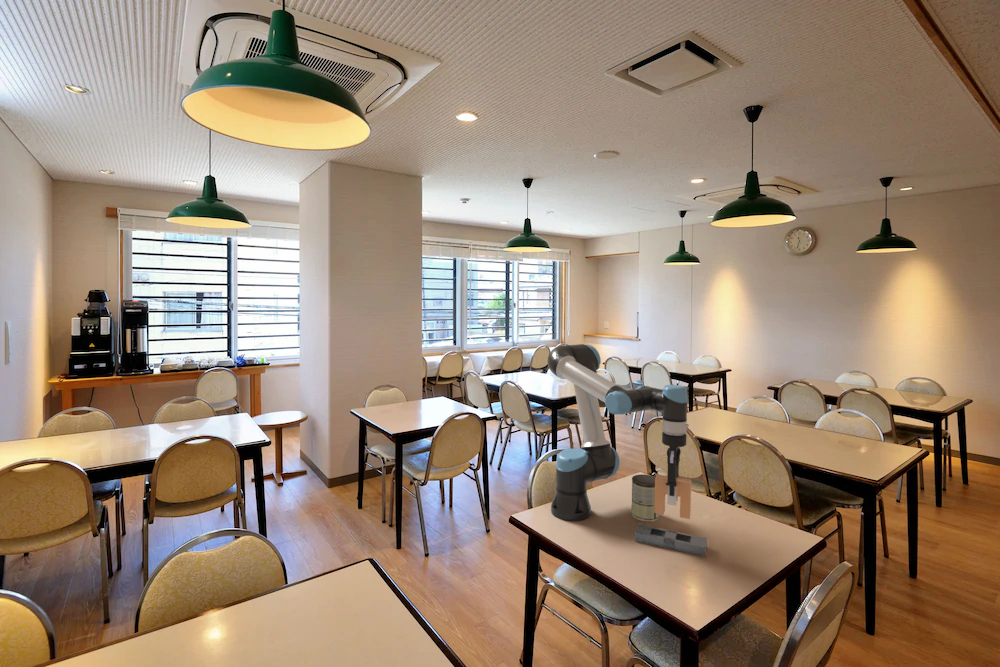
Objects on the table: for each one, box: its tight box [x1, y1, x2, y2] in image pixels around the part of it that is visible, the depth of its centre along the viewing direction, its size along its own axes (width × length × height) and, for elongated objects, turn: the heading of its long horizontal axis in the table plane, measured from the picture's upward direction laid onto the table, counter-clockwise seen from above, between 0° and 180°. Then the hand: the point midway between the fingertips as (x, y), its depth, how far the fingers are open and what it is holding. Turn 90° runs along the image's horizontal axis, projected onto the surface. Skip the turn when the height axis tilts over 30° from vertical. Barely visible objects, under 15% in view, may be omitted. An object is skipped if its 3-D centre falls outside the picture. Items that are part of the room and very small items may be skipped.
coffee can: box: [630, 474, 660, 523], centre depth 180 cm, size 10×10×14 cm
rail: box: [634, 523, 708, 558], centre depth 159 cm, size 22×7×3 cm, turn 64°
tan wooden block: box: [654, 473, 692, 520], centre depth 158 cm, size 11×4×12 cm, turn 64°
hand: (672, 502), depth 158 cm, fingers closed on tan wooden block, 3 cm apart
